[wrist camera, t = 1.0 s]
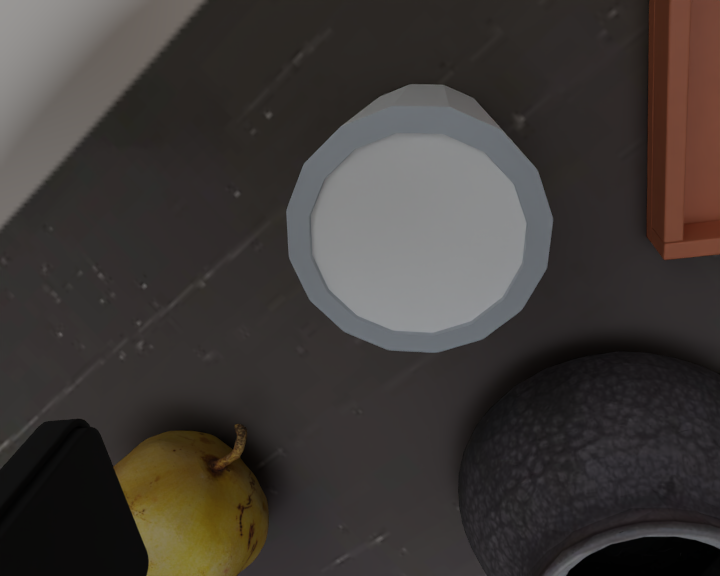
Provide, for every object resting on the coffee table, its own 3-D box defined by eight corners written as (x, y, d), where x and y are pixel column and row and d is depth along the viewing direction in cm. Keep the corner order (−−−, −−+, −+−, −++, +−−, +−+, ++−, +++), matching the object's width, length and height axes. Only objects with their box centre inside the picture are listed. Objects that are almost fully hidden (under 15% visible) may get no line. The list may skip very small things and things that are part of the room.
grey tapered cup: (287, 136, 24) (231, 199, 17) (459, 19, 21) (465, 44, 15) (394, 287, 26) (378, 393, 19) (560, 196, 23) (602, 282, 17)
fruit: (137, 427, 23) (1, 573, 26) (280, 575, 22) (123, 700, 26) (230, 356, 29) (110, 482, 33) (343, 471, 29) (209, 584, 33)
